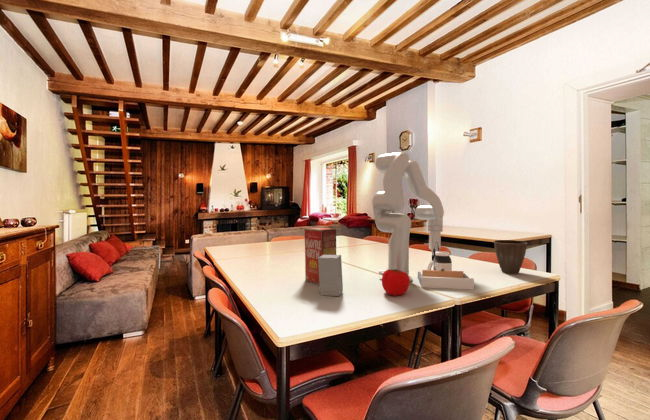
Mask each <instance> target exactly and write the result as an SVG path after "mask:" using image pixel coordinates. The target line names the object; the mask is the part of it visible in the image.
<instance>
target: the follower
mask: <svg viewBox="0 0 650 420" xmlns="http://www.w3.org/2000/svg"><path fill="white" fill-rule="evenodd" d="M421 271H422V273H421V274H422V277H449V278H463V273H464V270H452V271H444V269H441V270H434V269H431V270H427V269H422V270H421Z"/></svg>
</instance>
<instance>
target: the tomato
mask: <svg viewBox="0 0 650 420" xmlns="http://www.w3.org/2000/svg"><path fill="white" fill-rule="evenodd" d="M384 271H385V272H384V273H383V275H381V276H382V277H381V286H382V289H383V290H384V291H385V293H386V294H387V295H391V296H394V297H395V296H402V295H404V294H405V293H406V292H408V289H409V287H410V283H411V281H410V278H409V276H410V275H409V276H408V275H407V273H405V272H403V271H400V270H396V269H394V270H393V269H392V270H390V269H389V270H388V269H385V270H384Z"/></svg>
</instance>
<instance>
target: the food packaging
mask: <svg viewBox="0 0 650 420" xmlns="http://www.w3.org/2000/svg"><path fill="white" fill-rule="evenodd" d="M322 255H337V229H336V228H330V227H329V228H328V227H321V226H320V227H318V226H316V227H315V226H314V227H306V228H304V263H305V267H304V269H305V281H306V282H309V283H313V284H316V285H319V266H318V258H319V257H320V256H322Z"/></svg>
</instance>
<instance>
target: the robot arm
mask: <svg viewBox="0 0 650 420" xmlns="http://www.w3.org/2000/svg"><path fill="white" fill-rule="evenodd" d="M375 168H376V169H377V170H378V171H379V172H380V173H381V174H384V176H383V179H382V186H383V190H381V191H377V192H376V193H375V194H374V195H373V197H372V201H371V204H372V211H373V216H374V223H375V225H376V228H377V230H379V231H380V232H383V233H391V235H390V238H389V239H388V245H387V246H388V248H387V249H388V250H387V251H388V255H387V256H388V257H387V258H388V266H387V267H388V268H387V270H389V269H390V270H392V269H393V270H394V269H396V270H400V271H403V272H405V273H407V275H408V276H409V278H410V282H412V281H413V277H412V276H411V275H409V273H410V271H409V270H410V265H409V264H410V263H409V262H410V260H409V259H410V258H409V257H410V247H409V246H410V233H411V229H412V219H411V217H410V216H409V215H407V214H405V213H400V211H402V210H404V208H405V196H404V191H403V189H404V188H403V184H402V183H403V181H402V180H403V179H405V183H406V186H407V188H408V190H409V193H410V194H411V195H412V196H415V197H417V198H419V199H422V200H424V201H425V202H426V203H428V204H427V205H425V204H424V205H419V206H417V207H416V208H415V210H414V211H415V212H414V215H415V216H416V218H417V219H418V220H423V221H424V220H425V221H427V231H428V232H429V233H428V249H429V250H431V261H434V257H435V256H436V255H435V252H436V251H441V249H442V248H441V245H442V244H441V243H442V242H441V241H442V240H441V239H442V238H441V237H442V235H441V232H444V230H443V228H444V224H443V223H444V215H445V210H444V206H443V203H442V201H441V200H442V199H440V197H439V196H438V194H437V193H435V192H434V191H433V190H432V189H431V188H429V187H428V185H427V184H426V181H425V178H424V176H423V173H422V170H421V167H420V164H419V163H418V162H417V160H416V161H415V160H414V159H413V160H410V155H409V154H408V153H407V152H404V151H397V152H391V153H384V154H380V155H378V156H377V158H376V159H375ZM385 271H386V270H383V269H381V270H378V275H381V276H383V273H384V272H385Z"/></svg>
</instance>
